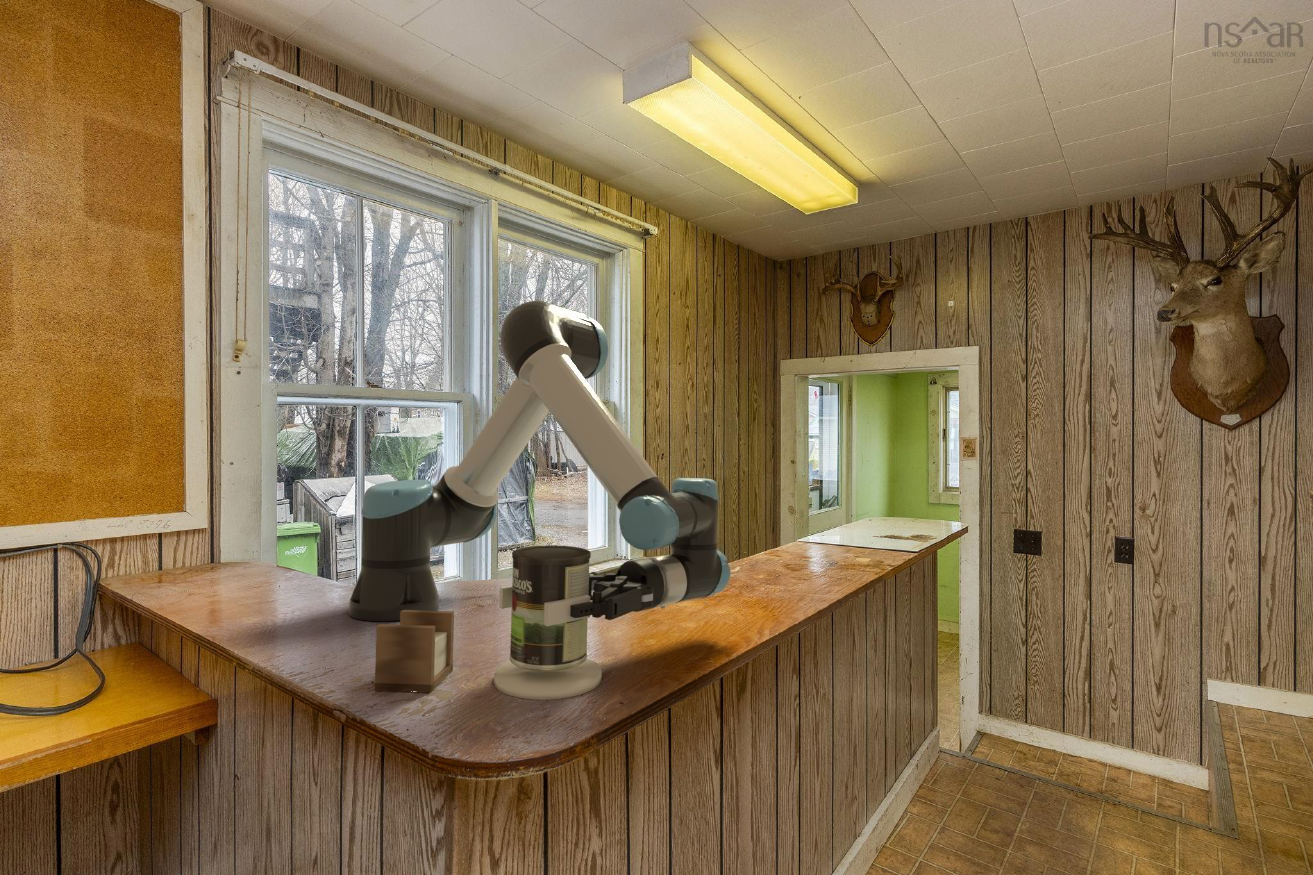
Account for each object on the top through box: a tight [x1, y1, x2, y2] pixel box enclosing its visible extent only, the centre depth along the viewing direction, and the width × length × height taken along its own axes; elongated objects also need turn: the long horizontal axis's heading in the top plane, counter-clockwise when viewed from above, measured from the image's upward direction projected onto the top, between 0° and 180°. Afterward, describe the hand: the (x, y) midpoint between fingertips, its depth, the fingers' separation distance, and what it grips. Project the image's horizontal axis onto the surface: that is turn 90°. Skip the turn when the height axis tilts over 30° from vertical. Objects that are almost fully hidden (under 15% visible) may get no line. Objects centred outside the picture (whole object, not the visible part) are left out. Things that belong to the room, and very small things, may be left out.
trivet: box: [493, 658, 603, 701], centre depth 86 cm, size 14×14×1 cm
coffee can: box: [509, 544, 592, 671], centre depth 86 cm, size 10×10×14 cm
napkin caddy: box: [374, 610, 455, 693], centre depth 84 cm, size 7×8×8 cm
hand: (522, 605), depth 83 cm, fingers closed on coffee can, 10 cm apart
